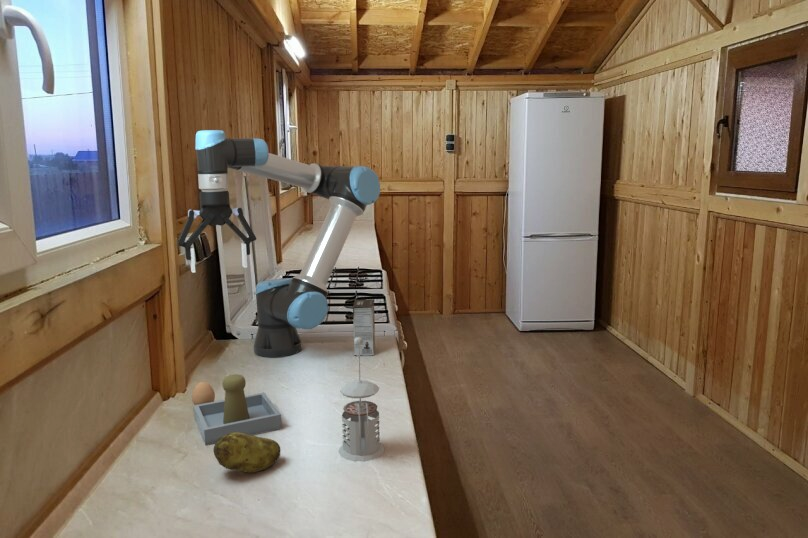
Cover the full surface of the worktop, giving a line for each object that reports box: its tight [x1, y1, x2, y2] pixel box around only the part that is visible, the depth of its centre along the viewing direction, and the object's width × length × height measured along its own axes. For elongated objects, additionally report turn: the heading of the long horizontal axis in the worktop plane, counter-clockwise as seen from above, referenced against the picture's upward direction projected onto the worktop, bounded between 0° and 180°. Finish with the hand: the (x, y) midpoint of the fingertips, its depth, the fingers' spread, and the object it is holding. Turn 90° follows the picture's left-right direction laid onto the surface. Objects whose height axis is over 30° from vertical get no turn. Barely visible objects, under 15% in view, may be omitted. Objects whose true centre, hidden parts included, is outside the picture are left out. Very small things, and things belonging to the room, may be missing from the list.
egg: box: [191, 381, 216, 406], centre depth 153 cm, size 5×5×7 cm
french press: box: [338, 337, 385, 462], centre depth 128 cm, size 10×12×25 cm
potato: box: [213, 433, 281, 473], centre depth 123 cm, size 8×13×8 cm, turn 104°
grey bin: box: [193, 392, 283, 446], centre depth 144 cm, size 17×15×4 cm
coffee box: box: [352, 299, 376, 356], centre depth 194 cm, size 9×6×16 cm
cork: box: [221, 374, 250, 424], centre depth 143 cm, size 6×6×11 cm
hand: (219, 269), depth 166 cm, fingers open, 13 cm apart
